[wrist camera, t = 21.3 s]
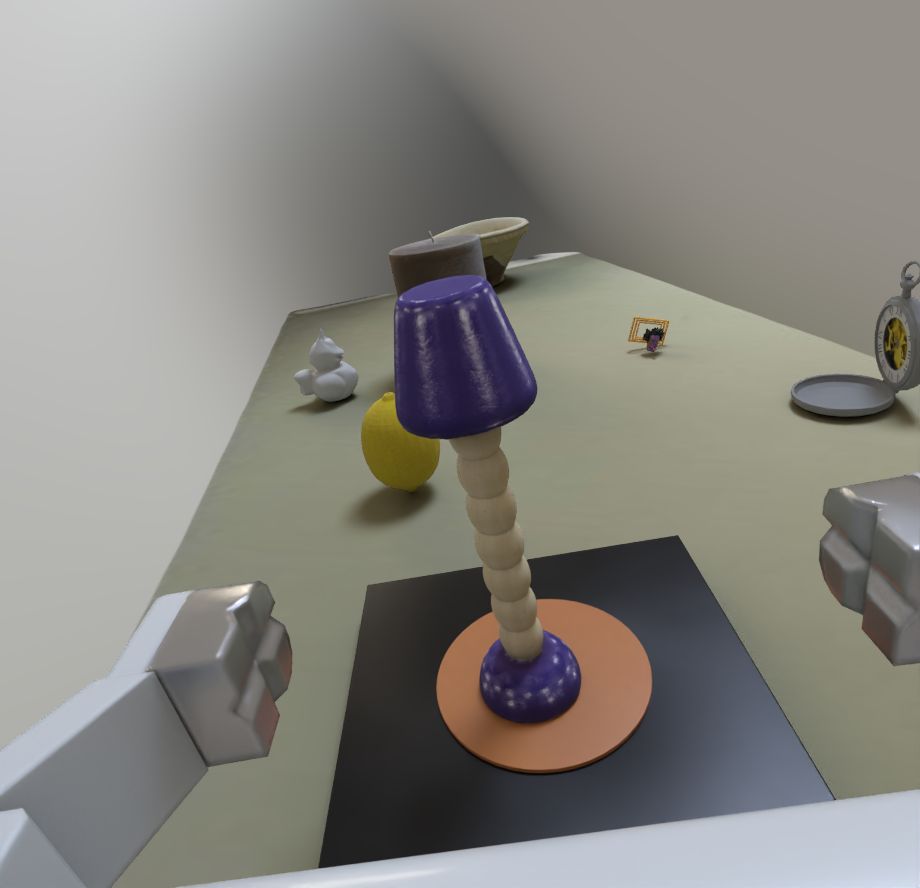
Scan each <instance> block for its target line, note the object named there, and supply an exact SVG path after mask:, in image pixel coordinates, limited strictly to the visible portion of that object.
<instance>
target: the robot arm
mask: <svg viewBox="0 0 920 888" xmlns="http://www.w3.org/2000/svg"><path fill="white" fill-rule="evenodd" d="M823 516H824V517H825V518H826V519H827V520H828V521H829V522H830V523H831V524H832V527H831V528H830V529H829V530H828V532H827V533H826V534H825V535H824V536H823V538H822V539H821V540H820V552H819V561H820V565H821V569H822V573H823V577H824V580H825V582H826V584H827V585H828V587H829V589H830V591H831V593H832V594H833V595H834V596H835V598H836V599H837V600H838V601H839V603H840V604H841V605H842V606H844V607H846V608H849V609H851V610H853V611H855V612H857V613H860V614H862V615H863V622H862V630H863V631H864V632H865V633H866V634H867V635H868V637H869V638H870V639H871V640H872V641H873V642H874V644H875V645H876V646H877V647H878V648H879V649H880V650H881V652H882V653H883V654H884V655H885V656H886V657H887V659H888V660H889V661H890V662H891V663H892V664H893V666H898V665H907V664H915V663H920V472H917V473H912V474H907V475H904V476H901V477H895V478H890V479H884V480H878V481H872V482H867V483H861V484H855V485H849V486H844V487H838V488H832V489H829V491H828V493H827V495H826V497H825V499H824V506H823ZM274 604H275V601H274V599H273V597H272V595H271V592H270V590H269V588H268V586H267V585H266V584H264V583H262V582H261V581H256V582H249V583H242V584H235V585H227V586H220V587H213V588H206V589H199V590H196V591H186V592H180V593H174V594H168V595H164V596H162V597H160V598H158V599H156V600H155V602H154V603H153V605H152V606H151V608H150V609H149V611H148V613H147V614H146V616H145V617H144V619H143V620H142V622H141V623H140V625H139V627H138V628H137V630H136V631H135V633H134V634H133V636H132V638H131V639H130V641H129V642H128V644H127V645H126V647H125V648H124V650H123V652H122V653H121V655H120V656H119V658H118V659H117V661H116V662H115V664H114V666H113V667H112V669H111V670H110V672H109V673H108V675H107V677H106V678H105V679H100V680H95V681H93V682H91V683H90V684H89V685H87V686H86V687H85V688H83V689H82V690H81V691H79V692H78V693H77V694H75V695H74V696H72V697H71V698H70V699H69V700H67V701H66V702H64V703H63V704H62V705H60V706H59V707H58V708H56V709H55V710H53V711H52V712H51V713H50V714H48V715H47V716H45V717H44V718H43V719H41V720H40V721H39V722H37V723H36V724H34V725H33V726H32V727H30V728H29V729H28V730H26V731H25V732H24V733H22V734H21V735H20V736H18V737H17V738H15V739H14V740H13V741H11V742H10V743H9V744H7V745H6V746H5V747H3V748H2V749H1V750H0V888H111V887H112V886H113V884H114V883H115V882H116V881H117V880H118V878H119V877H120V876H121V875H122V874H123V872H124V871H125V870H126V869H127V867H128V866H129V865H130V864H131V863H132V861H133V860H134V859H135V858H136V857H137V855H138V854H139V853H140V852H141V851H142V849H143V848H144V847H145V846H146V845H147V843H148V842H149V841H150V840H151V839H152V837H153V836H154V835H155V834H156V833H157V831H158V830H159V829H160V828H161V827H162V825H163V824H164V823H165V822H166V821H167V819H168V818H169V817H170V816H171V815H172V813H173V812H174V811H175V810H176V809H177V807H178V806H179V805H180V804H181V803H182V801H183V800H184V799H185V798H186V797H187V795H188V794H189V793H190V792H191V791H192V789H193V788H194V787H195V786H196V784H197V783H198V782H199V781H200V780H201V778H202V777H203V776H204V775H205V774H206V772H207V771H208V768H207V767H210V766H216V765H222V764H227V763H233V762H239V761H245V760H250V759H256V758H262V757H268V754H269V750H270V747H271V744H272V740H273V737H274V733H275V730H276V727H277V723H278V720H279V717H280V714H279V712H278V710H277V707H276V705H275V703H274V702H275V701H276V700H277V699H278V698H279V697H280V696H281V695H282V694H283V693H284V692H285V691H286V690H287V689H288V685H289V681H290V677H291V674H292V649H291V644H290V639H289V636H288V633H287V631H286V628H285V626H284V625H283V624H282V623H280V622H279V621H277V620H276V619H274V618H273V617H272V616H270V615H271V612H272V609H273V606H274ZM177 888H920V789H918V790H910V791H903V792H895V793H887V794H880V795H872V796H865V797H857V798H850V799H842V800H834V801H827V802H819V803H812V804H804V805H797V806H789V807H782V808H774V809H767V810H759V811H751V812H744V813H736V814H729V815H721V816H714V817H706V818H699V819H691V820H684V821H676V822H668V823H661V824H653V825H646V826H638V827H631V828H623V829H616V830H608V831H601V832H593V833H585V834H578V835H570V836H563V837H555V838H548V839H540V840H533V841H525V842H518V843H510V844H503V845H495V846H487V847H480V848H472V849H465V850H457V851H449V852H442V853H434V854H427V855H419V856H411V857H404V858H396V859H389V860H381V861H373V862H366V863H358V864H351V865H343V866H335V867H328V868H320V869H313V870H305V871H297V872H290V873H282V874H275V875H267V876H259V877H252V878H244V879H237V880H229V881H222V882H214V883H207V884H199V885H192V886H184V887H177Z"/></svg>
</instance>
